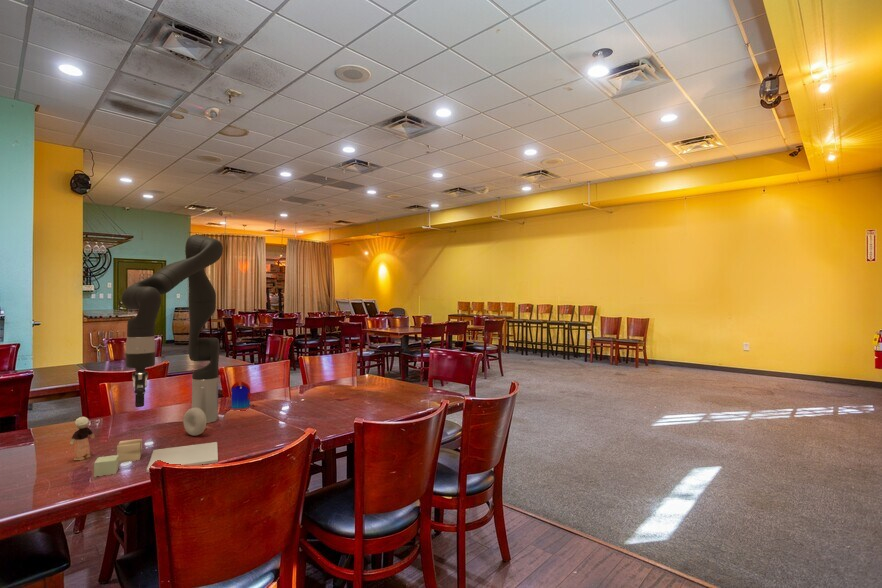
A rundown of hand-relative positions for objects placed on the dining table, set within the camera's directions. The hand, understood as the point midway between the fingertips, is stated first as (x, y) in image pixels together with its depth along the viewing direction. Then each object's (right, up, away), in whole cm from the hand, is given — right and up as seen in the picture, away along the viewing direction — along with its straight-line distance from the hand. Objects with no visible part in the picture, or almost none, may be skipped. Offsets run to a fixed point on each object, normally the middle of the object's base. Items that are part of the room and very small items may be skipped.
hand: (139, 404), depth 135 cm
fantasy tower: (+3, -18, +61) cm, 64 cm away
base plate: (+13, -17, +1) cm, 21 cm away
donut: (+4, -17, +23) cm, 29 cm away
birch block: (-3, -17, 0) cm, 17 cm away
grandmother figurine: (-17, -17, -1) cm, 24 cm away
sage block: (-2, -17, -11) cm, 20 cm away
